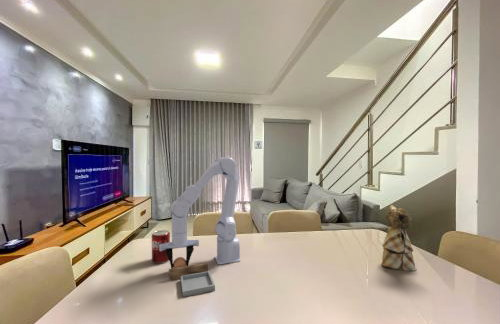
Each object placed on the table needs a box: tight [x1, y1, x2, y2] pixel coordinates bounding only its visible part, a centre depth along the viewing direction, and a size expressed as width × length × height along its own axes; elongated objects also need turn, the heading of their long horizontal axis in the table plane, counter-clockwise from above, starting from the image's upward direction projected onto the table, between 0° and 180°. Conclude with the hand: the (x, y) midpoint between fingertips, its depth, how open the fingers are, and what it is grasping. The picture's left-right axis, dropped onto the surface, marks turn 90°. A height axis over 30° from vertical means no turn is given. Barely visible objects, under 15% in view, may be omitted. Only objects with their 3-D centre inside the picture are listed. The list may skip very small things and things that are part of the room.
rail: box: [168, 262, 209, 281], centre depth 83 cm, size 14×1×4 cm, turn 111°
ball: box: [173, 256, 186, 268], centre depth 87 cm, size 5×5×5 cm
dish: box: [180, 270, 216, 298], centre depth 77 cm, size 10×10×2 cm
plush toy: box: [381, 204, 417, 272], centre depth 92 cm, size 14×14×25 cm
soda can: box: [151, 229, 171, 265], centre depth 96 cm, size 7×7×12 cm
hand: (179, 266), depth 87 cm, fingers closed on ball, 5 cm apart
